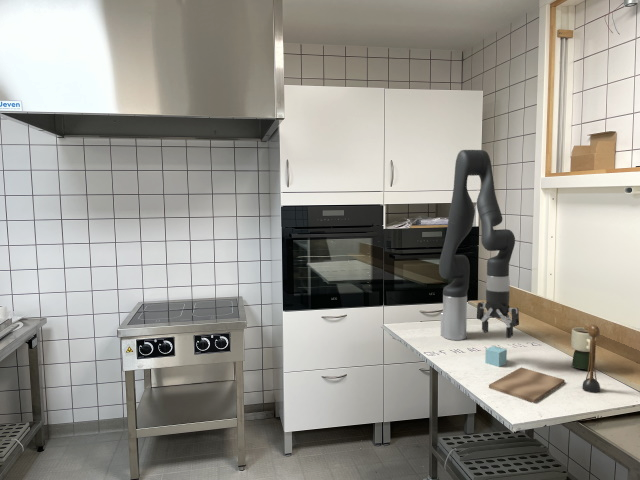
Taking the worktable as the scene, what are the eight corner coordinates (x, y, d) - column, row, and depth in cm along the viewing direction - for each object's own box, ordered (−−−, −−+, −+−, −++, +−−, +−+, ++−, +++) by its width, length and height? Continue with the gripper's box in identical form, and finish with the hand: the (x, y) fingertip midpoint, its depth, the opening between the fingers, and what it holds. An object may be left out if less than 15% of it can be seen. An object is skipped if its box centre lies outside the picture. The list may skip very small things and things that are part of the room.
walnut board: (488, 387, 149) (488, 384, 149) (521, 370, 162) (521, 367, 162) (534, 403, 138) (534, 399, 138) (564, 382, 151) (564, 379, 151)
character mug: (601, 374, 157) (603, 335, 155) (577, 374, 157) (579, 335, 156) (586, 362, 167) (588, 325, 166) (564, 361, 168) (566, 325, 167)
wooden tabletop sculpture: (576, 385, 149) (579, 321, 147) (590, 384, 150) (593, 320, 147) (589, 393, 144) (592, 327, 141) (603, 392, 144) (607, 326, 142)
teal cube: (485, 363, 169) (485, 349, 168) (493, 359, 172) (493, 345, 172) (498, 367, 165) (499, 352, 165) (506, 363, 168) (506, 349, 168)
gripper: (472, 287, 168) (472, 333, 170) (512, 293, 158) (511, 342, 159) (484, 283, 173) (484, 328, 175) (523, 289, 163) (522, 336, 164)
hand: (497, 334), depth 167 cm, fingers open, 8 cm apart
